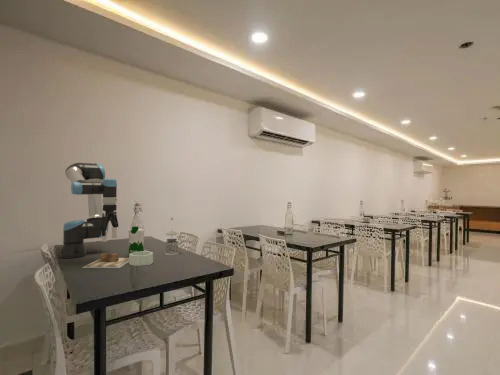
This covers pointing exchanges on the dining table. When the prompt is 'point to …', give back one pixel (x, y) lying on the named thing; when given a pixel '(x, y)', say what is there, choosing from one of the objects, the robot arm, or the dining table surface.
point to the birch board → (105, 264)
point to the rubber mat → (107, 267)
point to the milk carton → (136, 239)
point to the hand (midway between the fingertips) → (109, 239)
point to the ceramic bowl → (141, 258)
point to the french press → (172, 244)
